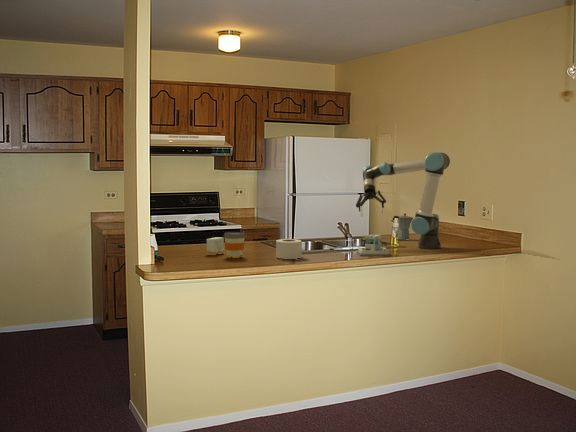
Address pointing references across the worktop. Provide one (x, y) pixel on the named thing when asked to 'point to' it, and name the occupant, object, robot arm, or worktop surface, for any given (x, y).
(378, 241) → the light bulb box
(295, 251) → the cream short cylinder
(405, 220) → the moka pot
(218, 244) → the skincare box
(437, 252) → the worktop surface
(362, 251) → the slot holder
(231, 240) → the reusable coffee cup
